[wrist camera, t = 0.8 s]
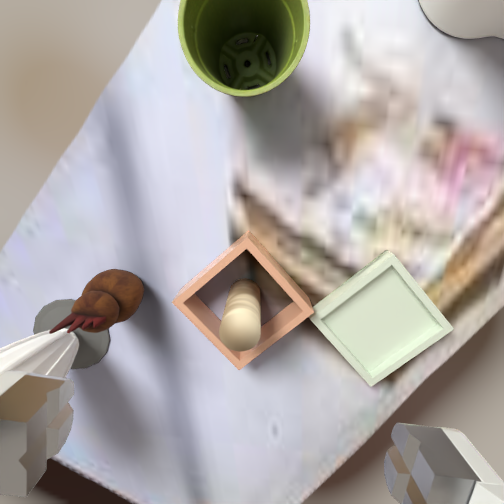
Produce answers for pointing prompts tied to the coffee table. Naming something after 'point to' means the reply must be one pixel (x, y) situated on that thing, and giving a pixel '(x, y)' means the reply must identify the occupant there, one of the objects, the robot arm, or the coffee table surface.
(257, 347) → the frame
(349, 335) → the sage tray
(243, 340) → the beech peg
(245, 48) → the plant pot
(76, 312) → the wooden figurine
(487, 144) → the coffee table surface
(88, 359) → the cup
